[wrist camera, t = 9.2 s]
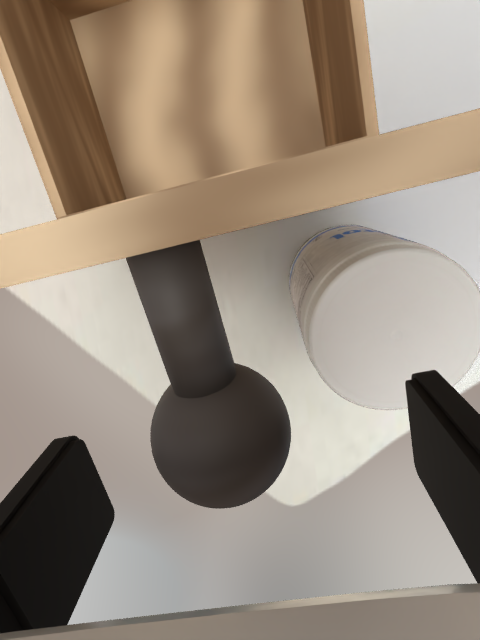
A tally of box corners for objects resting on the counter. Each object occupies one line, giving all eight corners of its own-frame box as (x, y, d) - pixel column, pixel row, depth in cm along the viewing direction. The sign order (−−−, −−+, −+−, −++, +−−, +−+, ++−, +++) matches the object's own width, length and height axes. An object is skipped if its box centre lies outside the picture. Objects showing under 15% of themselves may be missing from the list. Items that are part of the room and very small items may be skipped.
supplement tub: (399, 221, 32) (510, 239, 18) (391, 326, 35) (481, 412, 21) (285, 227, 32) (307, 249, 19) (286, 330, 35) (306, 416, 21)
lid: (808, 22, 5) (689, 492, 7) (386, 134, 19) (400, 281, 21) (-378, 333, 7) (-122, 611, 9) (49, 222, 21) (101, 346, 23)
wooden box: (299, -59, 26) (333, -255, 15) (334, 164, 31) (380, 145, 19) (64, 18, 28) (-64, -103, 17) (128, 217, 33) (60, 228, 21)
